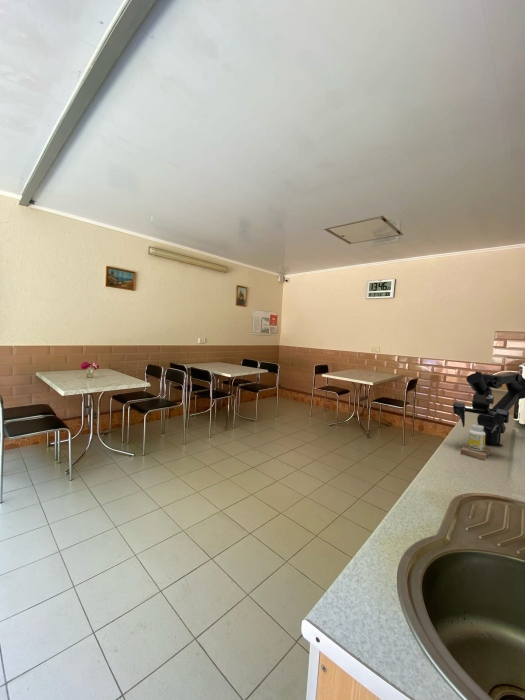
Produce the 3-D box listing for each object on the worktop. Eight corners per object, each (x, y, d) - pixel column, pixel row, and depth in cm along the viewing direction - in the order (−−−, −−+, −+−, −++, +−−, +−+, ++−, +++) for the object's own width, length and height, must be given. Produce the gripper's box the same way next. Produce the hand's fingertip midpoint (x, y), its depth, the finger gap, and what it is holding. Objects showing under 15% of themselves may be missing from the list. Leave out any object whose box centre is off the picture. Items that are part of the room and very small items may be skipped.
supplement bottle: (478, 446, 125) (480, 423, 124) (487, 452, 119) (489, 428, 119) (465, 445, 125) (467, 423, 124) (473, 451, 120) (475, 427, 119)
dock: (466, 447, 129) (467, 443, 128) (489, 453, 123) (490, 448, 123) (460, 453, 122) (461, 449, 122) (484, 460, 116) (485, 455, 116)
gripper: (455, 383, 129) (448, 413, 122) (511, 390, 117) (507, 424, 110) (457, 398, 136) (450, 427, 128) (510, 406, 124) (506, 439, 116)
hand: (476, 429), depth 120 cm, fingers open, 9 cm apart
